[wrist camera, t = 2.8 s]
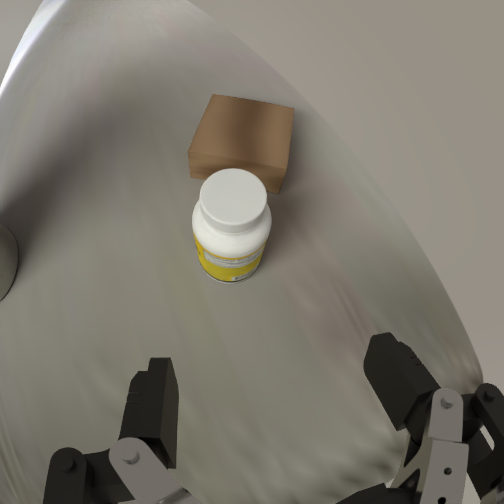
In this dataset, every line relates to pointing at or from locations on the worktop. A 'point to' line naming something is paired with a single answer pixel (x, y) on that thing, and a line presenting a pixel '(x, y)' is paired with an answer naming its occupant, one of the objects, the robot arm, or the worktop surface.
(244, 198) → the supplement bottle
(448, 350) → the worktop surface
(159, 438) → the robot arm
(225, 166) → the walnut block
